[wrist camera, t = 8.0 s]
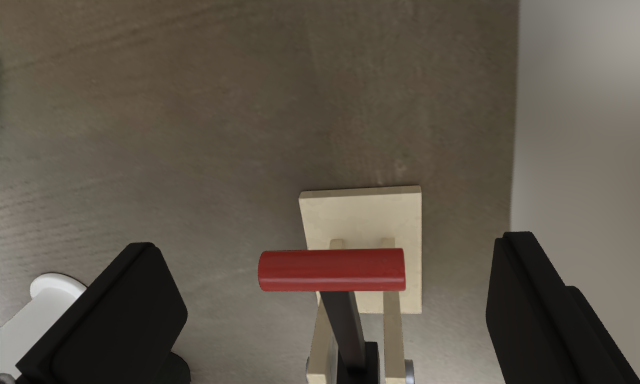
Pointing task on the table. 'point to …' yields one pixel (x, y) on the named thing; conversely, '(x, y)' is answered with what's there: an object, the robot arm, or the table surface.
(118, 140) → the table surface
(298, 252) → the lever
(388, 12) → the table surface
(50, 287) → the candle
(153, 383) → the sushi
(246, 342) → the table surface
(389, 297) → the bracket
